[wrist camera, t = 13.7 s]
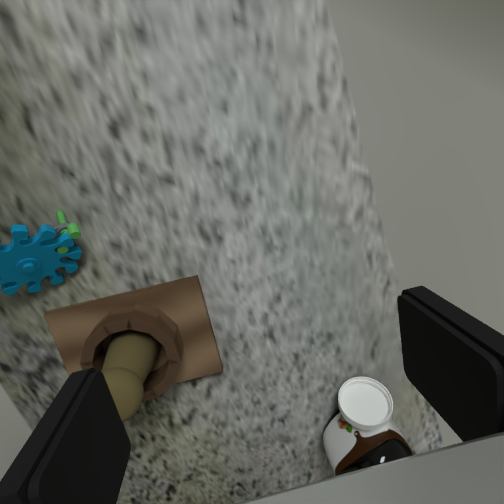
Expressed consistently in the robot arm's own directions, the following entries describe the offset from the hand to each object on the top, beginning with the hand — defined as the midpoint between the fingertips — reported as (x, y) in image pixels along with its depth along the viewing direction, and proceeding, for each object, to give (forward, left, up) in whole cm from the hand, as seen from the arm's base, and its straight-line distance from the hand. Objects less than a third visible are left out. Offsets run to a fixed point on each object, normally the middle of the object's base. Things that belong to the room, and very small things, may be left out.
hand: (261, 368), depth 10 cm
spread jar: (+32, +11, -31) cm, 46 cm away
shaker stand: (+13, -14, -30) cm, 36 cm away
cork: (+13, -14, -29) cm, 35 cm away
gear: (-1, -20, -31) cm, 37 cm away
